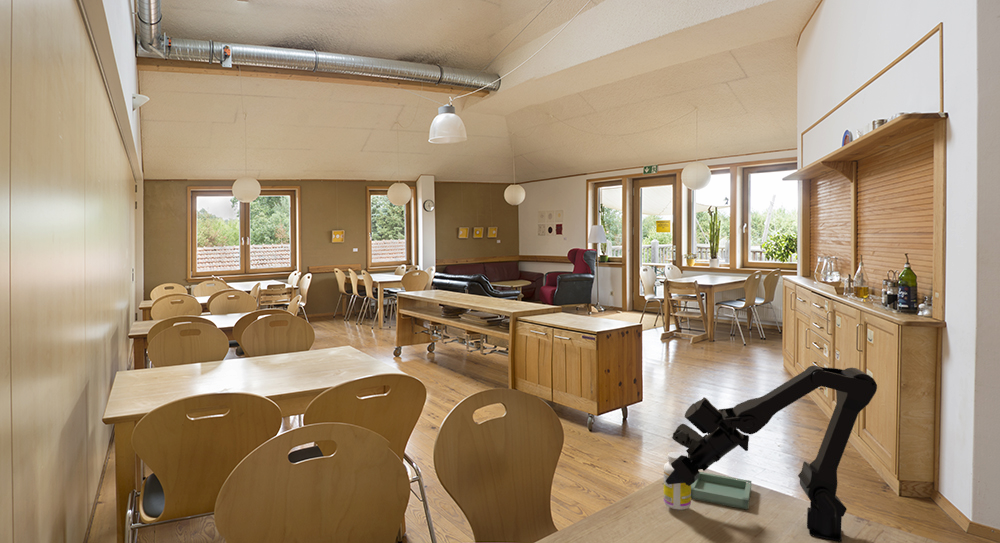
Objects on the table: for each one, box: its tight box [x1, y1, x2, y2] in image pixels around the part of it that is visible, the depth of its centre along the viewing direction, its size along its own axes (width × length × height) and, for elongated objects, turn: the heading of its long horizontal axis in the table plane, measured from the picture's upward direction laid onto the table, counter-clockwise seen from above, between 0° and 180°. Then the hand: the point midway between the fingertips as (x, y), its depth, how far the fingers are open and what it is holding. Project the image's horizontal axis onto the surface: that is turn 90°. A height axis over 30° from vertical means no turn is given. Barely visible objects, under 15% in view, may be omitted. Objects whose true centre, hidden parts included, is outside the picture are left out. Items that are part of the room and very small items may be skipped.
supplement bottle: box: [663, 451, 692, 511], centre depth 145 cm, size 7×7×13 cm
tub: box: [691, 471, 752, 511], centre depth 153 cm, size 14×12×2 cm
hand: (672, 477), depth 146 cm, fingers closed on supplement bottle, 6 cm apart
